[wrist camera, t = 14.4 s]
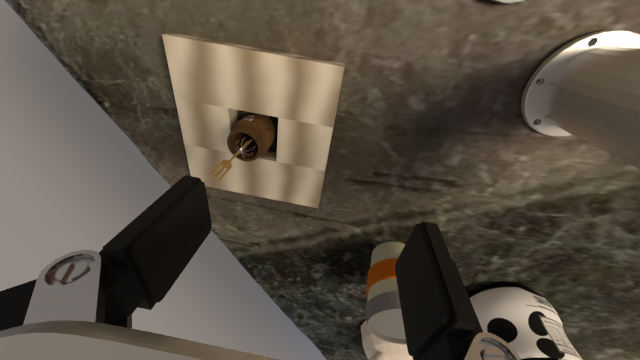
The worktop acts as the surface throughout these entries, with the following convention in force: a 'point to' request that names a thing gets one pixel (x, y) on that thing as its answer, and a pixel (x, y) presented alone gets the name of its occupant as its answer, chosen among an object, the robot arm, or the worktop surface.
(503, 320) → the milk container
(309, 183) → the socket board
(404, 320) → the robot arm
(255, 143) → the utensil holder
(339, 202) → the worktop surface
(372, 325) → the reusable coffee cup
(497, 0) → the salad plate
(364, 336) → the kettle
